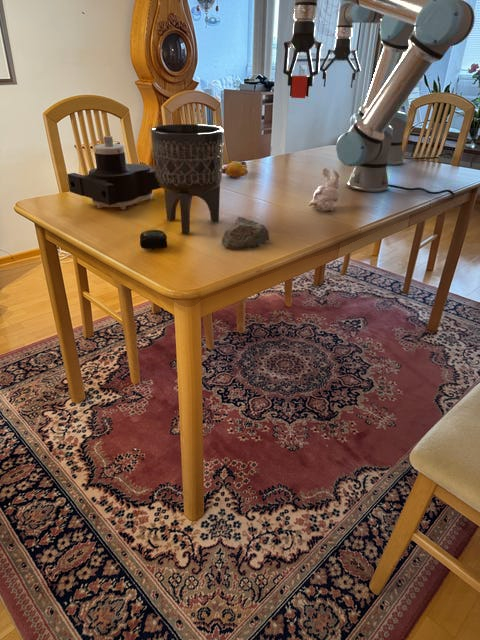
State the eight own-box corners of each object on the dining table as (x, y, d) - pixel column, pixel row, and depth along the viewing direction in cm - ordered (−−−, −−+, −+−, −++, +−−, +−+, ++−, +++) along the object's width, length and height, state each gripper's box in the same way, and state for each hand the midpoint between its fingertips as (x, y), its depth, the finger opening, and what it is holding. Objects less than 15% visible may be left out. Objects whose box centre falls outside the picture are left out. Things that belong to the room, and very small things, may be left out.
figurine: (343, 205, 155) (348, 167, 148) (324, 216, 144) (329, 175, 137) (322, 201, 158) (326, 164, 152) (302, 211, 148) (305, 171, 141)
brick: (293, 96, 171) (294, 75, 167) (307, 97, 170) (308, 75, 166) (291, 97, 166) (292, 75, 162) (305, 98, 165) (307, 76, 161)
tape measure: (140, 252, 115) (139, 238, 113) (141, 242, 120) (140, 229, 119) (167, 251, 116) (166, 237, 114) (167, 241, 121) (166, 228, 120)
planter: (143, 226, 132) (134, 128, 119) (187, 210, 146) (183, 122, 133) (195, 240, 123) (191, 136, 109) (236, 222, 137) (238, 128, 123)
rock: (255, 233, 128) (256, 211, 124) (276, 242, 122) (278, 219, 119) (217, 244, 120) (217, 220, 117) (239, 254, 115) (239, 230, 111)
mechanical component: (60, 135, 140) (138, 127, 160) (72, 203, 151) (143, 187, 171) (101, 144, 128) (180, 134, 148) (111, 217, 139) (183, 198, 159)
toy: (216, 169, 183) (223, 161, 196) (222, 185, 186) (228, 175, 199) (242, 161, 180) (247, 153, 193) (247, 176, 183) (252, 167, 196)
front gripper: (276, 20, 154) (273, 96, 166) (331, 20, 151) (323, 97, 163) (279, 21, 161) (276, 94, 172) (332, 22, 157) (324, 96, 169)
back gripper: (317, 37, 220) (312, 86, 231) (369, 38, 215) (362, 88, 225) (318, 38, 226) (314, 85, 237) (370, 38, 221) (363, 87, 232)
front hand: (299, 96), depth 168 cm, fingers closed on brick, 5 cm apart
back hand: (338, 87), depth 231 cm, fingers open, 13 cm apart
